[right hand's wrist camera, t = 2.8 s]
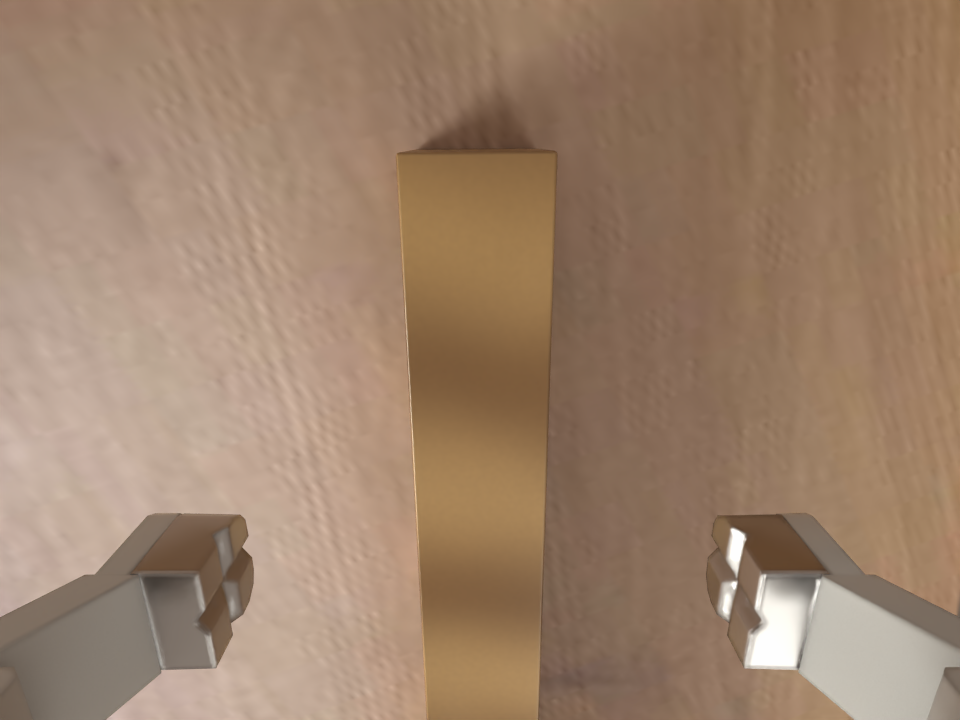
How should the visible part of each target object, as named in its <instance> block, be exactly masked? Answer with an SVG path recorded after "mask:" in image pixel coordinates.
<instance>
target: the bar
mask: <svg viewBox="0 0 960 720" xmlns="http://www.w3.org/2000/svg"><path fill="white" fill-rule="evenodd" d="M396 166H397V184H398V202H399V220H400V239H401V257H402V275H403V293H404V312H405V330H406V348H407V366H408V385H409V403H410V421H411V439H412V457H413V476H414V494H415V512H416V530H417V549H418V567H419V585H420V603H421V622H422V640H423V658H424V676H425V694H426V713H427V720H539V694H540V663H541V633H542V603H543V573H544V542H545V512H546V482H547V452H548V421H549V391H550V361H551V331H552V300H553V270H554V240H555V209H556V179H557V152H555V151H550V150H543V149H441V150H412V151H406V152H400V153H397V155H396Z"/></svg>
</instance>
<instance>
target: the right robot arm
mask: <svg viewBox="0 0 960 720" xmlns="http://www.w3.org/2000/svg"><path fill="white" fill-rule="evenodd" d="M247 537H248V531H247V526H246V521H245V519H244V518H243V517H242V516H241V515H233V514H186V513H184V514H180V513H155V514H152V515H149V516H147V517H146V518H145V519H144V520H143V521H142V523H141V524H140V525H139V526H138V527H137V528H136V529H135V530H134V531H133V533H132V534H131V535H130V536H129V537H128V538H127V539H126V540H125V542H124V543H123V544H122V545H121V546H120V547H119V548H118V549H117V550H116V552H115V553H114V554H113V555H112V556H111V557H110V558H109V559H108V560H107V562H106V563H105V564H104V565H103V566H102V567H101V568H100V569H99V571H98V572H97V573H96V574H95V575H84V576H82V577H80V578H78V579H76V580H74V581H72V582H70V583H68V584H66V585H64V586H62V587H60V588H58V589H56V590H54V591H52V592H50V593H48V594H46V595H44V596H42V597H40V598H38V599H36V600H34V601H32V602H30V603H28V604H26V605H24V606H22V607H20V608H18V609H16V610H14V611H12V612H10V613H8V614H6V615H4V616H2V617H0V720H106V719H107V718H108V717H109V716H111V715H112V714H113V713H114V712H115V711H117V710H118V709H119V708H120V707H121V706H123V705H124V704H125V703H126V702H127V701H128V700H130V699H131V698H132V697H133V696H134V695H136V694H137V693H138V692H139V691H140V690H142V689H143V688H144V687H145V686H146V685H147V684H149V683H150V682H151V681H152V680H153V679H155V678H156V677H157V676H158V675H159V674H161V670H173V669H207V668H216V667H217V665H218V663H219V661H220V659H221V657H222V655H223V653H224V651H225V649H226V648H227V646H228V644H229V642H230V640H231V638H232V636H233V634H232V628H231V623H232V622H233V621H234V620H236V619H237V618H239V617H240V616H241V615H243V614H244V612H245V609H246V607H247V605H248V603H249V601H250V597H251V592H252V588H253V580H254V568H253V561H252V557H251V556H250V555H249V554H248V553H247V552H246V551H245V550H244V549H243V548H242V546H243V544H244V543H245V541H246V539H247ZM712 537H713V539H714V541H715V543H716V544H717V546H718V548H717V549H716V550H715V551H714V552H713V553H712V554H711V555H710V556H709V557H708V562H707V570H706V578H707V589H708V593H709V597H710V600H711V603H712V605H713V607H714V609H715V612H716V614H717V615H719V616H720V617H721V618H723V619H724V620H726V621H727V622H728V623H729V628H728V634H727V636H728V638H729V640H730V642H731V644H732V645H733V647H734V649H735V651H736V653H737V655H738V657H739V659H740V661H741V663H742V665H743V667H744V668H751V669H786V670H799V673H800V674H801V675H802V676H803V677H805V678H806V679H807V680H808V681H809V682H810V683H812V684H813V685H814V686H815V687H816V688H818V689H819V690H820V691H821V692H822V693H823V694H825V695H826V696H827V697H828V698H829V699H831V700H832V701H833V702H834V703H835V704H837V705H838V706H839V707H840V708H841V709H842V710H844V711H845V712H846V713H847V714H848V715H850V716H851V717H852V718H853V719H854V720H960V617H958V616H956V615H954V614H952V613H950V612H948V611H946V610H944V609H942V608H940V607H938V606H936V605H934V604H932V603H930V602H928V601H926V600H924V599H922V598H920V597H918V596H916V595H914V594H912V593H910V592H908V591H906V590H904V589H902V588H900V587H898V586H896V585H894V584H892V583H890V582H888V581H886V580H884V579H882V578H880V577H878V576H876V575H865V574H864V573H863V572H862V571H861V569H860V568H859V567H858V566H857V565H856V564H855V563H854V562H853V560H852V559H851V558H850V557H849V556H848V555H847V554H846V553H845V552H844V550H843V549H842V548H841V547H840V546H839V545H838V544H837V543H836V542H835V540H834V539H833V538H832V537H831V536H830V535H829V534H828V533H827V531H826V530H825V529H824V528H823V527H822V526H821V525H820V524H819V523H818V521H817V520H816V519H815V518H814V517H813V516H811V515H809V514H807V513H788V514H776V515H717V518H716V520H715V522H714V524H713V530H712Z"/></svg>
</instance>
